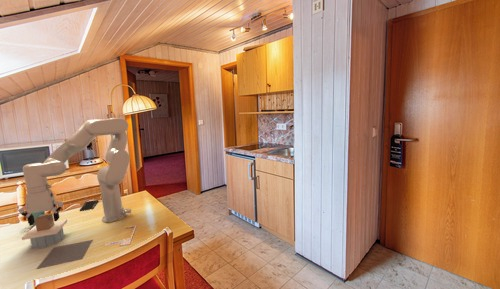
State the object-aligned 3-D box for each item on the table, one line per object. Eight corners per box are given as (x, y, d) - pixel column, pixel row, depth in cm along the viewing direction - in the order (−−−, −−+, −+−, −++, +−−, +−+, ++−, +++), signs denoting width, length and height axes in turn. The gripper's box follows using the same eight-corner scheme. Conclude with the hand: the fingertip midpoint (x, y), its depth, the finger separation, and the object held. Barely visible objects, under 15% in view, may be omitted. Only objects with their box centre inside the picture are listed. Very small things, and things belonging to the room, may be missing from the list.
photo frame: (94, 249, 105) (106, 230, 122) (94, 252, 105) (106, 232, 122) (129, 243, 109) (136, 225, 126) (130, 245, 109) (136, 227, 126)
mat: (93, 240, 114) (93, 239, 114) (82, 260, 99) (82, 259, 99) (53, 248, 108) (53, 247, 108) (36, 270, 93) (35, 269, 93)
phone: (98, 199, 165) (93, 207, 151) (98, 201, 165) (93, 209, 151) (85, 201, 162) (79, 210, 148) (86, 203, 162) (79, 211, 149)
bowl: (67, 233, 122) (65, 222, 121) (58, 245, 110) (55, 233, 109) (39, 238, 118) (37, 226, 116) (26, 252, 106) (23, 239, 105)
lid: (67, 221, 121) (65, 208, 120) (56, 233, 109) (53, 219, 108) (36, 226, 117) (34, 213, 116) (22, 240, 105) (18, 225, 104)
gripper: (63, 183, 116) (68, 215, 119) (19, 189, 110) (26, 222, 113) (56, 188, 109) (62, 222, 112) (9, 194, 103) (17, 229, 106)
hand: (44, 222), depth 112 cm, fingers open, 9 cm apart
